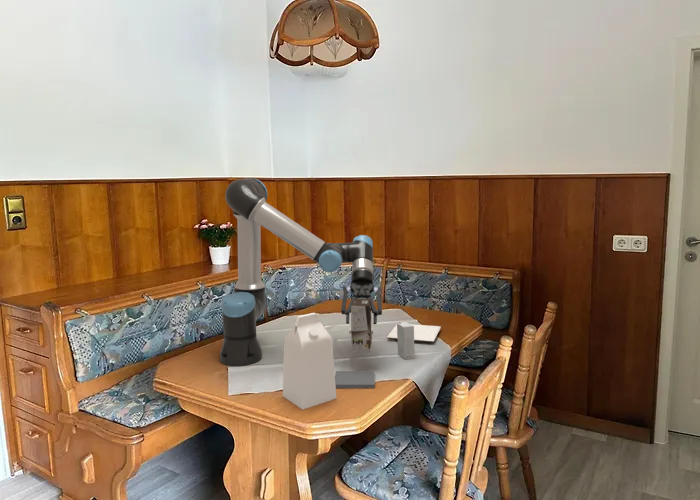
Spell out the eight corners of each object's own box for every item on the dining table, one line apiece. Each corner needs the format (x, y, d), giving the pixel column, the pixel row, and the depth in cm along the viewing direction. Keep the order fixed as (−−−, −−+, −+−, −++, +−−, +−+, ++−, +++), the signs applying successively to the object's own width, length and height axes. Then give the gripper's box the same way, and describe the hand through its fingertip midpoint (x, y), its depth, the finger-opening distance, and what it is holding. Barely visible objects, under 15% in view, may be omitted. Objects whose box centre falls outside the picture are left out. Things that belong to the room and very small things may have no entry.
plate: (386, 341, 216) (386, 336, 215) (397, 327, 233) (397, 322, 233) (433, 345, 210) (433, 340, 210) (441, 331, 228) (441, 326, 227)
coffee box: (370, 352, 183) (369, 305, 180) (351, 352, 184) (350, 305, 181) (372, 343, 192) (371, 298, 189) (354, 342, 192) (353, 298, 190)
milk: (315, 386, 174) (313, 307, 170) (336, 398, 165) (334, 315, 161) (282, 396, 167) (279, 314, 163) (302, 409, 158) (299, 323, 154)
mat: (335, 374, 183) (335, 371, 183) (374, 374, 183) (374, 371, 183) (333, 388, 173) (333, 384, 172) (374, 388, 172) (374, 384, 172)
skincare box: (415, 358, 197) (415, 325, 195) (403, 359, 196) (403, 327, 193) (407, 352, 203) (407, 321, 201) (396, 354, 201) (396, 322, 199)
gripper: (389, 280, 199) (390, 337, 186) (335, 279, 200) (332, 336, 186) (390, 268, 193) (390, 327, 180) (334, 268, 194) (331, 326, 180)
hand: (361, 332), depth 183 cm, fingers closed on coffee box, 7 cm apart
